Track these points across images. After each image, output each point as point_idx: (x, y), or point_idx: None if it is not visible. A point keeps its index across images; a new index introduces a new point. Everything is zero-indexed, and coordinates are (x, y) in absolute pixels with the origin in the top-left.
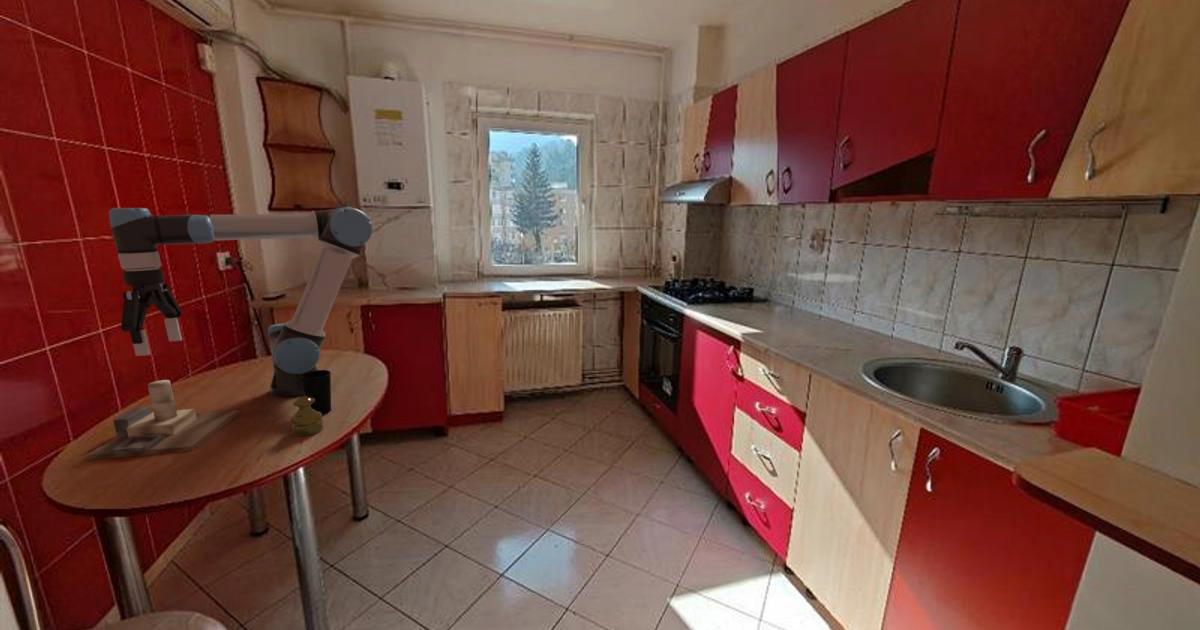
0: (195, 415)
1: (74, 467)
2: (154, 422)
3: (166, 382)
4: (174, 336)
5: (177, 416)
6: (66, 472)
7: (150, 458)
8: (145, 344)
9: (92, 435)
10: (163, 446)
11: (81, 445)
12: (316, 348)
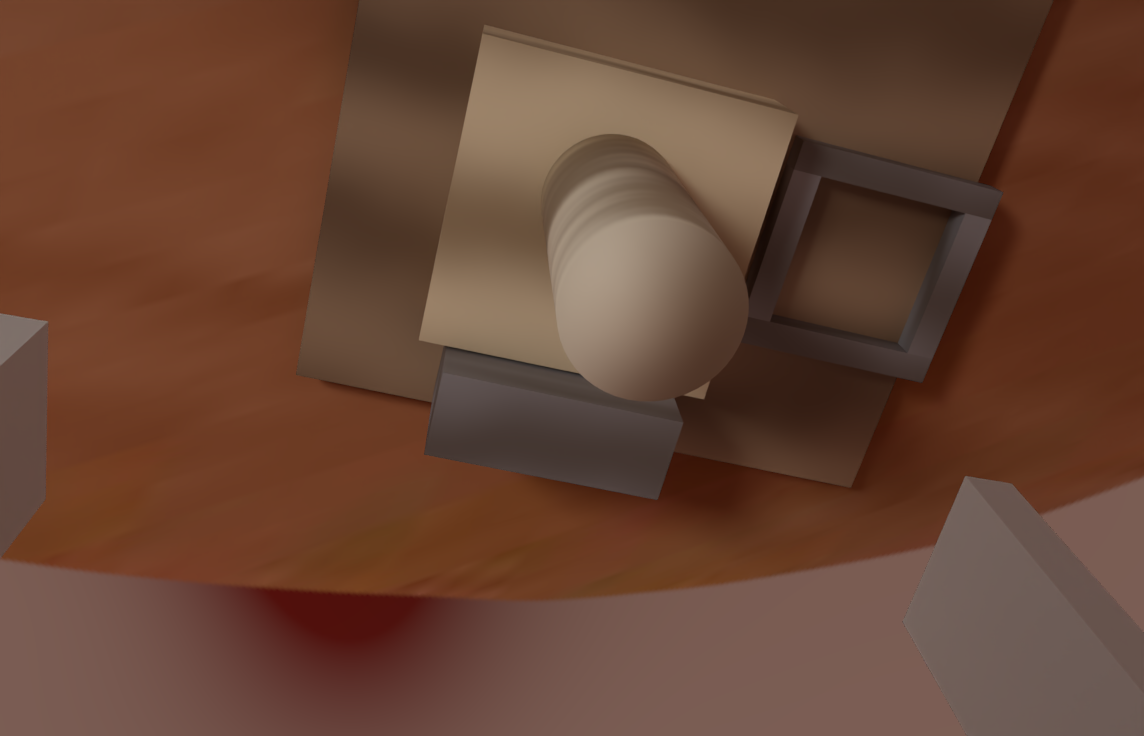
0: (493, 30)
1: (915, 490)
2: None
3: (683, 241)
4: (5, 451)
5: (623, 125)
6: None
7: (1036, 148)
8: (1116, 611)
9: (440, 588)
10: (974, 105)
11: (586, 580)
12: None
